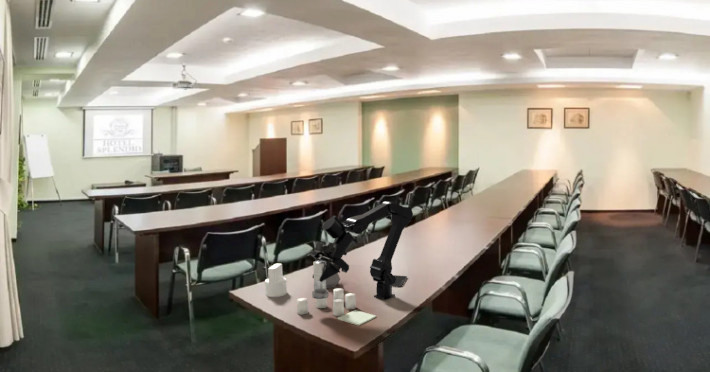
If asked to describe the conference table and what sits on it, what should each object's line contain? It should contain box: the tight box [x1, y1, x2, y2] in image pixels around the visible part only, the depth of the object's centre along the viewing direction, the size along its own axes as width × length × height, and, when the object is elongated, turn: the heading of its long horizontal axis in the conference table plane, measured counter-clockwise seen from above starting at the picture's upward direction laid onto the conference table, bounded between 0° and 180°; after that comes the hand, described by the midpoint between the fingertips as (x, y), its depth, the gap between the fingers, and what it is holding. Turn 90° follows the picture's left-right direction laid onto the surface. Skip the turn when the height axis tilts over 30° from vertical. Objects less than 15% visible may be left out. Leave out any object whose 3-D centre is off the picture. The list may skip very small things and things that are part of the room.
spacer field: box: [296, 287, 357, 317], centre depth 175 cm, size 21×16×5 cm
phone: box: [392, 274, 408, 288], centre depth 209 cm, size 8×1×15 cm
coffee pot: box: [325, 264, 341, 289], centre depth 210 cm, size 21×12×15 cm, turn 0°
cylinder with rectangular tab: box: [264, 263, 288, 298], centre depth 196 cm, size 9×9×12 cm
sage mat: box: [337, 309, 377, 326], centre depth 166 cm, size 10×10×1 cm
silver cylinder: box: [311, 260, 329, 300], centre depth 169 cm, size 6×6×13 cm
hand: (316, 279), depth 169 cm, fingers closed on silver cylinder, 4 cm apart
